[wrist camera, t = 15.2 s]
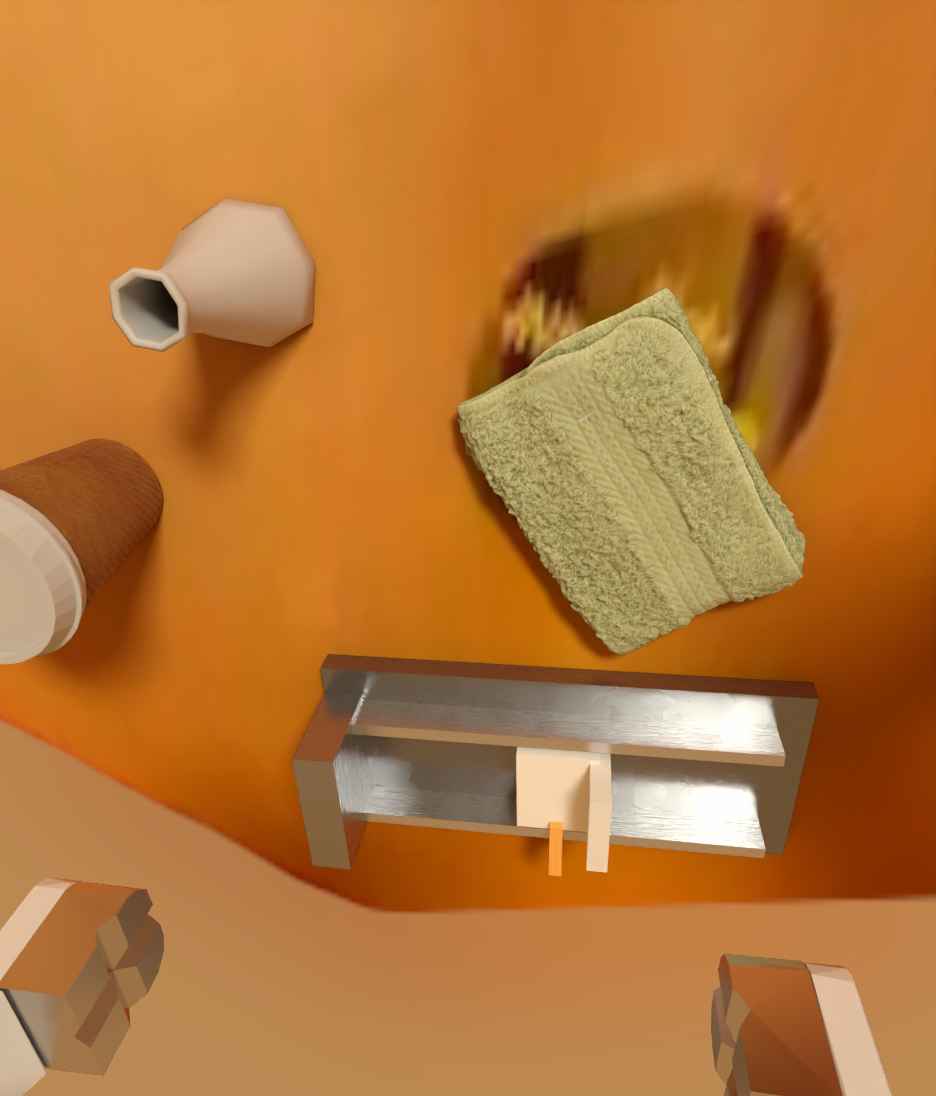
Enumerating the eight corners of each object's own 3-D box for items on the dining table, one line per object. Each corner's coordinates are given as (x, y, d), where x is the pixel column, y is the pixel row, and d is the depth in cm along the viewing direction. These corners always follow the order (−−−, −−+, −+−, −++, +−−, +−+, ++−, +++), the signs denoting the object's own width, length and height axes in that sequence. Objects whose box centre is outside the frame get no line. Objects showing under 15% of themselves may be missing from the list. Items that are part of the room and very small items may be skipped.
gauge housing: (812, 682, 44) (851, 775, 37) (778, 836, 50) (806, 939, 43) (327, 654, 48) (286, 732, 42) (350, 798, 54) (317, 886, 48)
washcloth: (665, 268, 35) (672, 278, 32) (814, 555, 40) (831, 585, 38) (442, 407, 40) (430, 426, 37) (602, 646, 45) (603, 678, 42)
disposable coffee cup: (149, 398, 41) (-1, 479, 31) (212, 546, 46) (99, 662, 35) (11, 427, 44) (-172, 512, 33) (83, 566, 48) (-59, 681, 37)
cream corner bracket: (609, 734, 45) (612, 801, 41) (602, 844, 50) (603, 915, 45) (519, 727, 46) (511, 792, 42) (520, 836, 51) (513, 905, 46)
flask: (335, 336, 38) (259, 389, 30) (210, 356, 40) (103, 412, 31) (296, 183, 35) (198, 191, 26) (162, 211, 37) (28, 228, 28)
